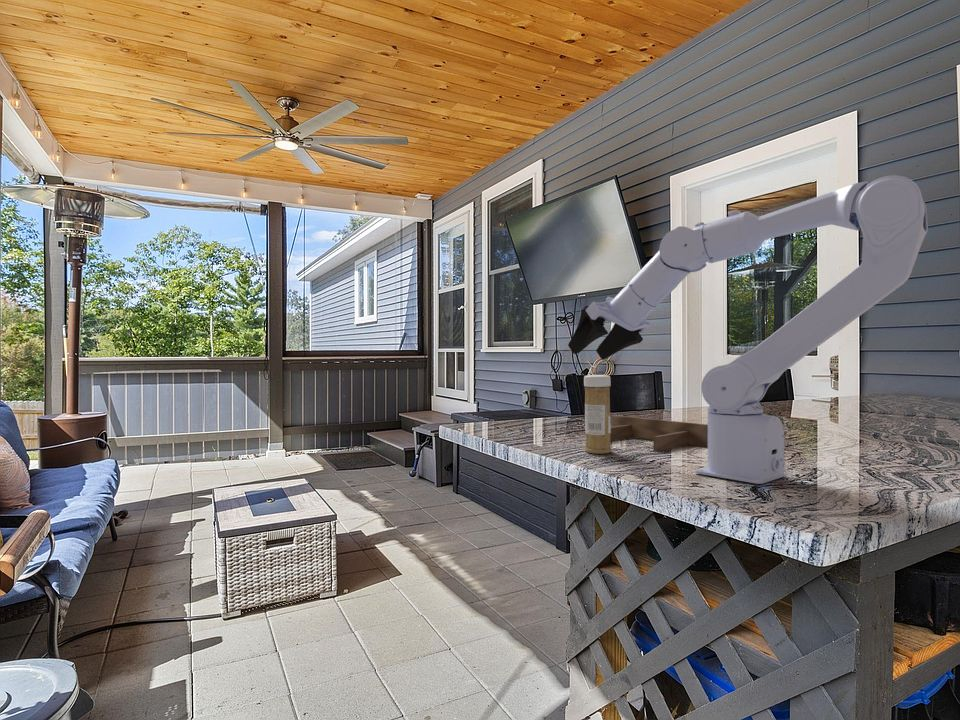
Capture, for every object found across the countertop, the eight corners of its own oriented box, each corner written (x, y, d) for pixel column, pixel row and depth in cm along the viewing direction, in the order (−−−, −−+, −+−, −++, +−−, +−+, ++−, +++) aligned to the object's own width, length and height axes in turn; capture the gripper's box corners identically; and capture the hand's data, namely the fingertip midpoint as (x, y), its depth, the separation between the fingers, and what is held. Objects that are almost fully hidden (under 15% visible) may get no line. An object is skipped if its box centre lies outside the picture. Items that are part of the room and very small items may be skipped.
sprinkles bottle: (616, 451, 102) (615, 374, 102) (601, 455, 99) (600, 376, 99) (594, 448, 105) (593, 374, 105) (579, 452, 102) (578, 375, 102)
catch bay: (712, 447, 106) (712, 424, 106) (678, 454, 99) (678, 430, 99) (614, 434, 123) (614, 415, 123) (579, 439, 116) (579, 419, 116)
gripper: (653, 286, 98) (600, 341, 105) (602, 267, 89) (547, 328, 95) (677, 315, 94) (620, 370, 101) (626, 298, 85) (567, 360, 92)
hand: (586, 352), depth 98 cm, fingers open, 7 cm apart
